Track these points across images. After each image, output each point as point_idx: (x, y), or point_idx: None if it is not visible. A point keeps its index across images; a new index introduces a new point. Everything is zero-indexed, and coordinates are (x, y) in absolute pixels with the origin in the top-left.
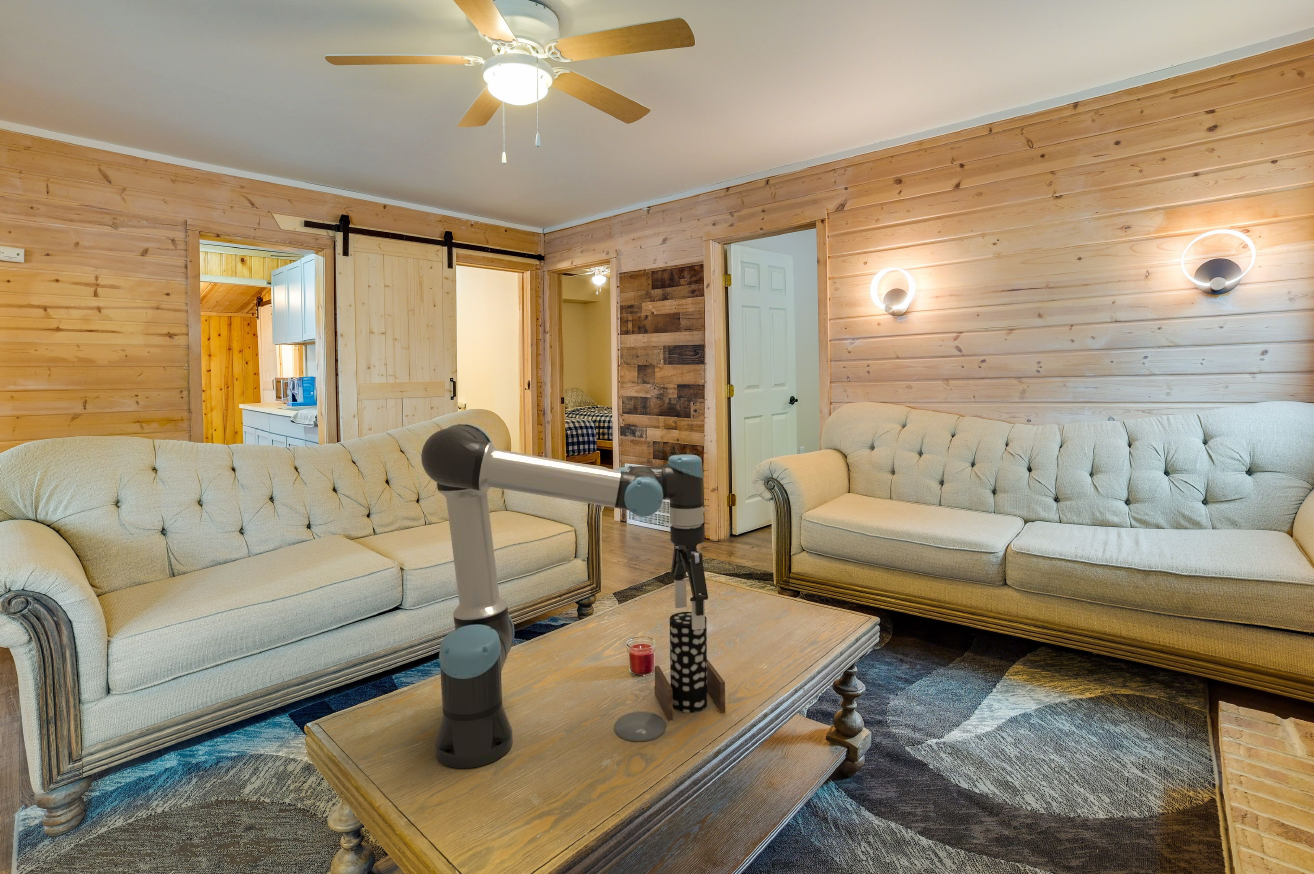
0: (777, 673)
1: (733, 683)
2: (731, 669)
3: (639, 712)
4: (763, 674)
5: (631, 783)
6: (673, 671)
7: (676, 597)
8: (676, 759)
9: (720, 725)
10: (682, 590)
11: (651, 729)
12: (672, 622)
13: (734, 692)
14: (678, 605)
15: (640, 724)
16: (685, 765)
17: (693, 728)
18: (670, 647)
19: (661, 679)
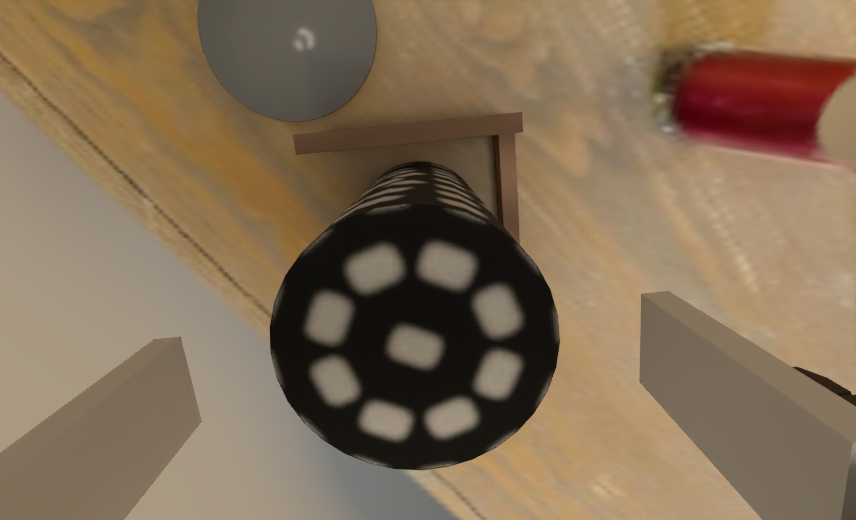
0: (547, 509)
1: None
2: (611, 396)
3: (371, 37)
4: (552, 473)
5: None
6: (384, 178)
7: (695, 341)
8: (103, 121)
9: (277, 285)
10: (734, 442)
11: (255, 65)
12: (356, 215)
13: None
14: (652, 325)
15: (290, 30)
16: (73, 142)
17: (268, 204)
18: (410, 180)
19: (399, 124)
